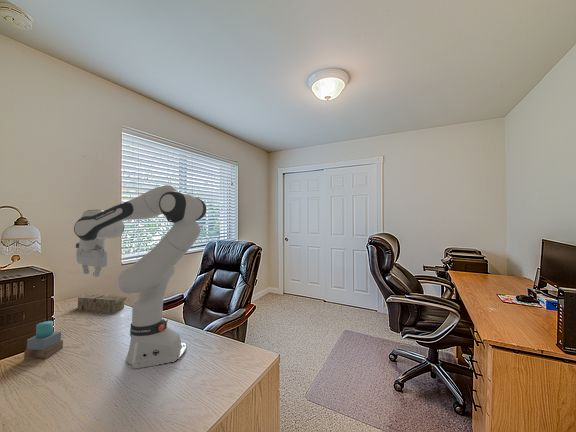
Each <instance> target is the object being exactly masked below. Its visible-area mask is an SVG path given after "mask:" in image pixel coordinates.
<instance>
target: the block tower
mask: <svg viewBox="0 0 576 432" xmlns="http://www.w3.org/2000/svg"><path fill="white" fill-rule="evenodd" d="M125 301H127V296H125V295H115V294H114V295H109V294H108V295H105V294H96V293H85V294H82V295H80V296H78V297H77V310H84V311H93V312H103V313H104V312H105V313H115V312H118V311H120V310H122V309H125Z"/></svg>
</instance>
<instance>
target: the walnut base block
mask: <svg viewBox="0 0 576 432" xmlns="http://www.w3.org/2000/svg"><path fill="white" fill-rule="evenodd" d="M63 349H64V340H63V339H61V341H60V342H58V343H56V344H54V345H52V346H50V347H49V348H47V349H45V350H27V349H25V350H24V354H23V360H24V361H31V360H32V361H33V360H47V359H49V358H51V357H52V356H54V354H56V353H58V352H59V351H61V350H63Z"/></svg>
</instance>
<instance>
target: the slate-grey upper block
mask: <svg viewBox="0 0 576 432" xmlns="http://www.w3.org/2000/svg"><path fill="white" fill-rule="evenodd" d="M61 340H62V331H53V334H52V335H51V336H48V337H45V338H36V335H34V336H31V337H30V338H28V339H27V340H26V350H45V349H47V348H49V347H50V346H52V345H54V344H56V343H58V342H60V341H61Z"/></svg>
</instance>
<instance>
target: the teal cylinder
mask: <svg viewBox="0 0 576 432" xmlns="http://www.w3.org/2000/svg"><path fill="white" fill-rule="evenodd" d="M53 332H54V321H53V320H47V321H42V322H39V323H37V324H36V325H35V336H36V338H45V337H48V336H51V335H52V334H53Z"/></svg>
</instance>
